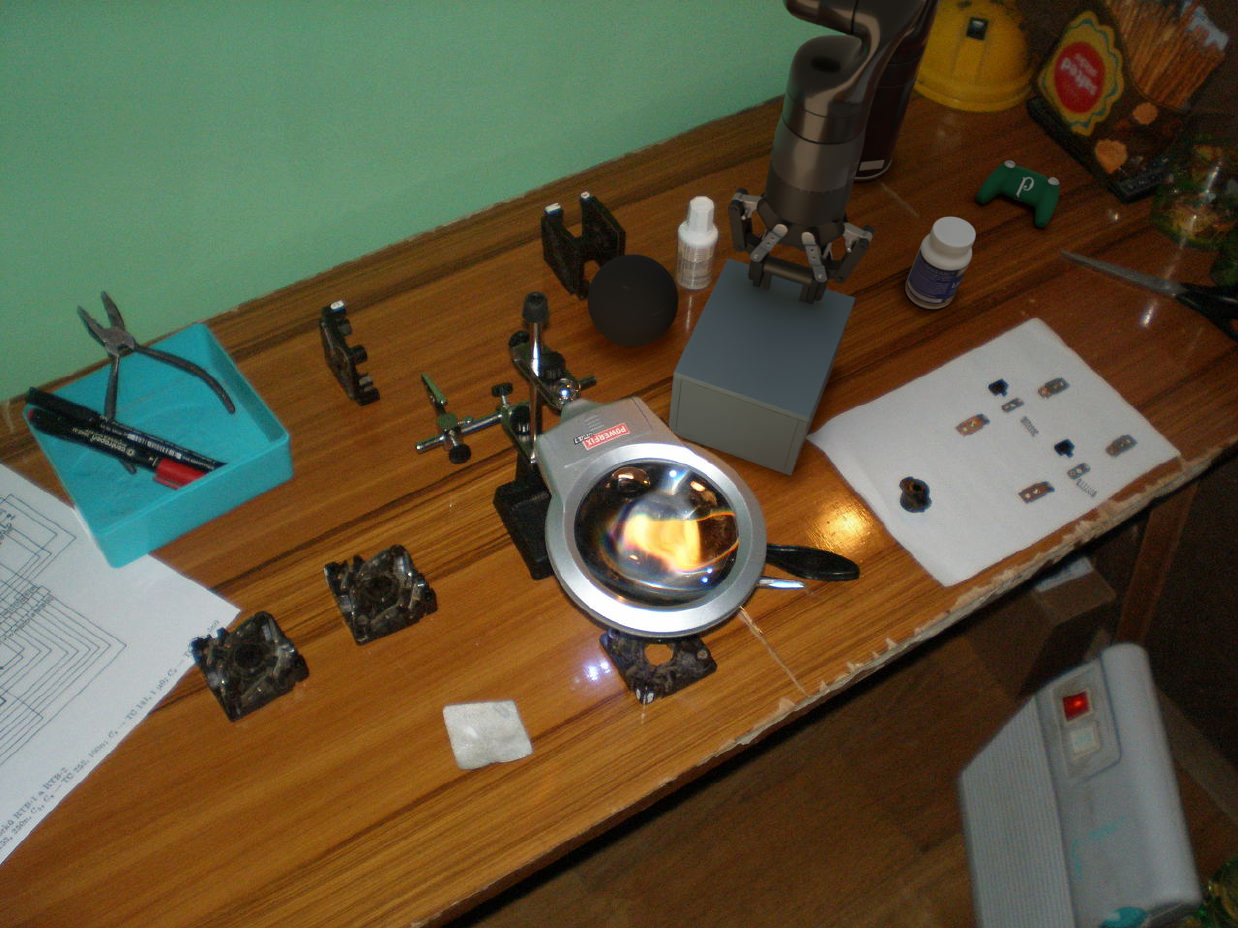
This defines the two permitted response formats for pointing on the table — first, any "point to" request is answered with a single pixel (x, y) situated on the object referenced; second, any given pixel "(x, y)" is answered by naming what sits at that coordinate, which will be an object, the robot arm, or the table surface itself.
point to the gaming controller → (1023, 189)
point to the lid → (766, 338)
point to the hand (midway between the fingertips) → (784, 288)
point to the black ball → (633, 300)
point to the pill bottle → (941, 263)
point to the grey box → (740, 424)
